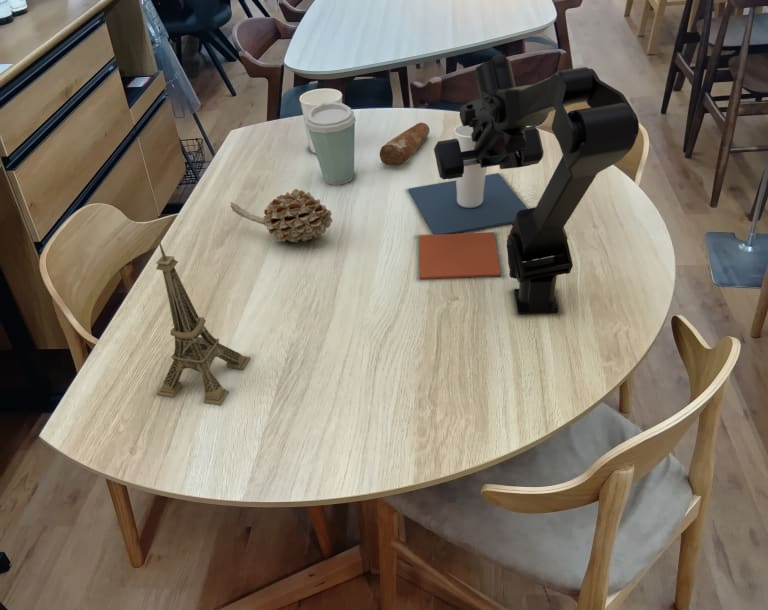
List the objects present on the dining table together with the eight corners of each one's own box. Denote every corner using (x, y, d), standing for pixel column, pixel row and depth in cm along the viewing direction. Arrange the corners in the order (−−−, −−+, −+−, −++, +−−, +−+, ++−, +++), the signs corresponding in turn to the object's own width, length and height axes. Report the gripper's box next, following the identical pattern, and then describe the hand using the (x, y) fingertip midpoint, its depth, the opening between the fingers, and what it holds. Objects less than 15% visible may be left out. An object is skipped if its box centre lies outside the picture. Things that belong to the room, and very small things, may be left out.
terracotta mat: (500, 276, 116) (500, 273, 116) (419, 279, 117) (419, 276, 117) (493, 234, 126) (493, 232, 126) (419, 237, 127) (419, 235, 127)
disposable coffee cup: (368, 183, 145) (362, 114, 135) (321, 194, 143) (312, 125, 132) (352, 164, 152) (345, 97, 142) (307, 175, 150) (297, 107, 140)
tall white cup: (460, 213, 132) (461, 139, 121) (448, 198, 137) (447, 126, 126) (492, 206, 133) (495, 132, 123) (478, 192, 138) (481, 119, 127)
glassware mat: (534, 219, 129) (534, 217, 129) (435, 237, 127) (435, 235, 127) (498, 175, 144) (498, 173, 143) (408, 190, 141) (408, 188, 141)
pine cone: (342, 230, 131) (336, 183, 124) (325, 256, 125) (318, 208, 118) (242, 220, 137) (231, 174, 130) (220, 244, 130) (207, 198, 123)
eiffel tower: (220, 405, 97) (172, 258, 80) (157, 394, 100) (96, 250, 83) (250, 358, 104) (211, 214, 87) (190, 350, 107) (141, 208, 90)
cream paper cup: (301, 144, 162) (293, 94, 154) (338, 135, 165) (332, 85, 157) (315, 159, 155) (308, 107, 147) (353, 149, 158) (348, 98, 150)
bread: (378, 168, 150) (376, 144, 146) (414, 134, 162) (413, 111, 158) (403, 172, 148) (402, 147, 144) (438, 138, 160) (437, 114, 156)
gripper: (543, 79, 111) (515, 121, 127) (436, 96, 109) (420, 136, 125) (557, 143, 111) (527, 178, 127) (450, 161, 109) (432, 194, 124)
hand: (477, 170), depth 126 cm, fingers open, 9 cm apart
